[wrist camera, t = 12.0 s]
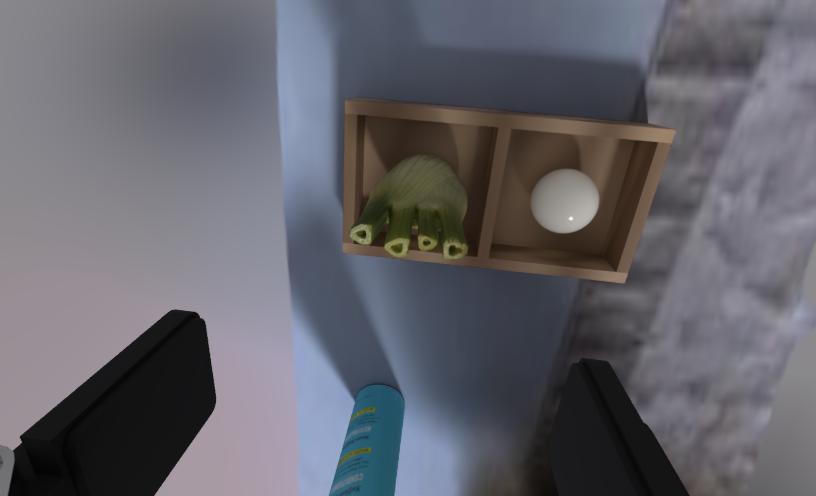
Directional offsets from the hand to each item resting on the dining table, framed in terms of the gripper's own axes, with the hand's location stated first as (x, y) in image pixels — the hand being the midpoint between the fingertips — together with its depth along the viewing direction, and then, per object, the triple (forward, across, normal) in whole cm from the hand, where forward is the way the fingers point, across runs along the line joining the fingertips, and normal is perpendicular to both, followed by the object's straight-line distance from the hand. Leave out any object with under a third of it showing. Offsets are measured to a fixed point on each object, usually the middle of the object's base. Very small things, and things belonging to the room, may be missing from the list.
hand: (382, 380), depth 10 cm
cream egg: (+22, -10, 0) cm, 24 cm away
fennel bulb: (+22, 0, 0) cm, 22 cm away
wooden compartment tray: (+22, -5, 0) cm, 23 cm away
